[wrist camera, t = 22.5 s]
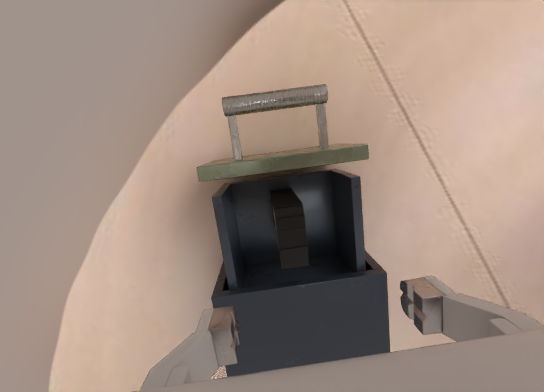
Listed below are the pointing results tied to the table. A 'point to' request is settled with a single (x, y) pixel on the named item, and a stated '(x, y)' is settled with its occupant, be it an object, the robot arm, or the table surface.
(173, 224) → the table surface
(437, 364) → the robot arm
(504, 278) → the table surface
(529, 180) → the table surface
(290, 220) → the ink cartridge
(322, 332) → the cabinet
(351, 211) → the drawer
